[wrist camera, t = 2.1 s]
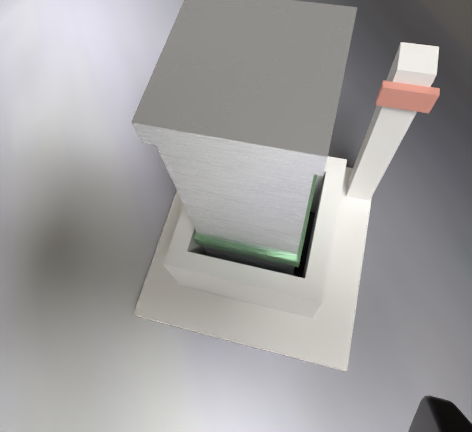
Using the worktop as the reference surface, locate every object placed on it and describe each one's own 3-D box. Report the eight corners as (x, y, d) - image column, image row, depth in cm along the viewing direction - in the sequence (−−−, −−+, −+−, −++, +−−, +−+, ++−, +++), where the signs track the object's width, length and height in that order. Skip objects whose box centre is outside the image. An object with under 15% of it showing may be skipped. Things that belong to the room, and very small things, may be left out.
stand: (348, 372, 18) (426, 357, 9) (138, 316, 20) (29, 257, 11) (375, 180, 22) (449, 34, 13) (196, 147, 24) (152, -1, 15)
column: (293, 292, 20) (328, 156, 8) (209, 272, 20) (131, 122, 9) (309, 214, 21) (357, 7, 10) (231, 198, 22) (189, -12, 11)
